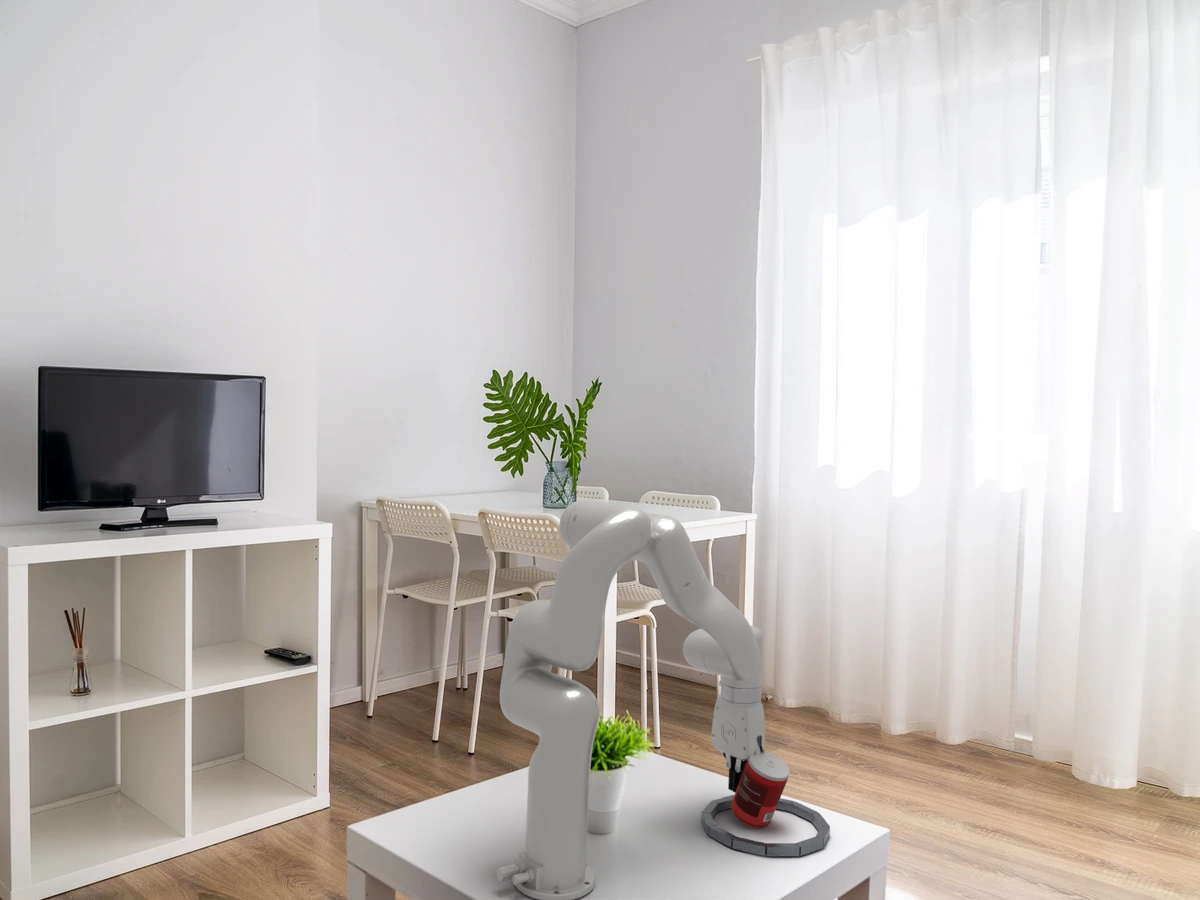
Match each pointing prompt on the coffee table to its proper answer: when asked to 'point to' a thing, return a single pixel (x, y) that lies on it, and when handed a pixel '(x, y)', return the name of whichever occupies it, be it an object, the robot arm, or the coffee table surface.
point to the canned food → (760, 789)
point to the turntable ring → (767, 848)
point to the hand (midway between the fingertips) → (737, 789)
